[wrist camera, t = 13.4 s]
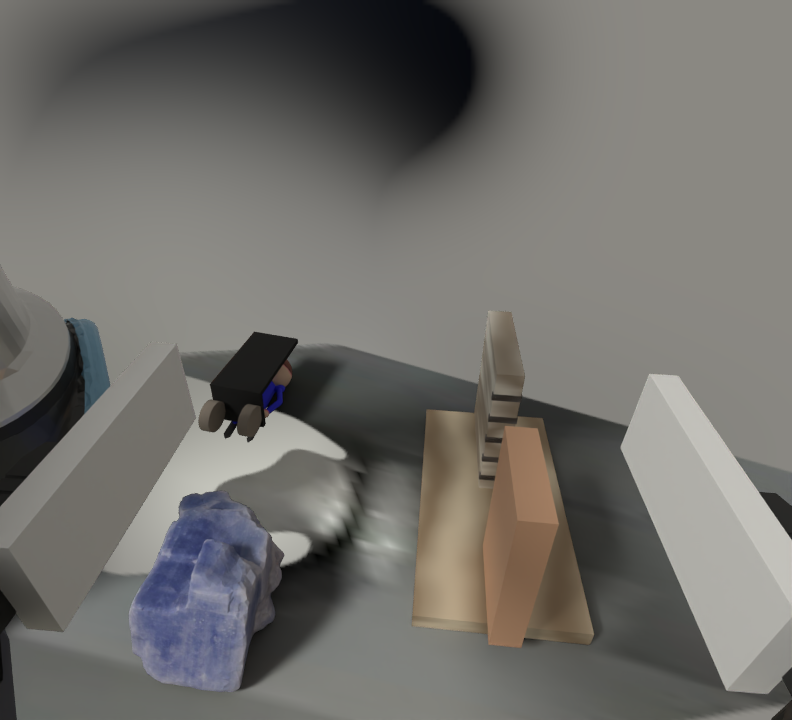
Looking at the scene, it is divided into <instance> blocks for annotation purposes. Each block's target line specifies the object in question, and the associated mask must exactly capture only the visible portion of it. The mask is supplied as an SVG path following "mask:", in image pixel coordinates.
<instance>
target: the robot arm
mask: <svg viewBox="0 0 792 720" xmlns="http://www.w3.org/2000/svg"><path fill="white" fill-rule="evenodd" d="M195 419H196V416H195V412H194V409H193V405H192V401H191V397H190V393H189V389H188V385H187V381H186V377H185V373H184V370H183V366H182V362H181V358H180V354H179V350H178V346H177V344H174V343H158V342H150V343H149V344H148V345H147V346H146V348H145V349H144V350H143V351H142V352H141V353H140V354H139V355H138V356H137V357H136V358H135V359H134V361H133V362H132V363H131V364H130V365H129V366H128V367H127V368H126V369H125V370H124V371H123V373H122V374H121V375H120V376H119V377H118V378H117V379H116V380H115V381H114V383H113V384H112V385H111V386H110V381H109V376H108V372H107V367H106V363H105V358H104V353H103V348H102V344H101V340H100V336H99V332H98V328H97V326H96V325H95V323H94V322H92V321H90V320H87V319H81V320H76V319H74V318H71V319H64V320H63V319H62V317H61V316H60V314H59V313H58V311H57V310H56V309H55V308H54V307H53V306H52V305H51V304H50V303H49V302H47V301H46V300H44V299H42V298H41V297H39V296H37V295H35V294H33V293H31V292H29V291H26V290H23V289H21V288H17V287H13V286H12V284H11V283H10V281H9V279H8V278H7V276H6V274H5V273H4V271H3V269H2V267H1V265H0V720H17V718H16V707H15V697H14V686H13V675H12V664H11V653H10V643H9V638H8V636H7V633H6V631H5V630H4V629H5V627H6V626H7V625H8V623H9V622H10V621H11V619H12V618H13V616H14V615H15V614H17V616H18V617H19V618H20V620H21V621H22V622H23V624H24V625H25V626H26V628H27V629H35V630H46V631H57V632H64V631H65V629H66V628H67V626H68V624H69V623H70V621H71V620H72V618H73V616H74V615H75V613H76V611H77V610H78V608H79V607H80V605H81V603H82V602H83V600H84V599H85V597H86V595H87V594H88V592H89V590H90V589H91V587H92V586H93V584H94V582H95V581H96V579H97V577H98V576H99V574H100V573H101V571H102V569H103V568H104V566H105V564H106V563H107V561H108V559H109V558H110V556H111V555H112V553H113V552H114V550H115V548H116V547H117V545H118V543H119V542H120V540H121V539H122V537H123V535H124V534H125V532H126V530H127V529H128V527H129V526H130V524H131V522H132V521H133V519H134V518H135V516H136V514H137V513H138V511H139V509H140V508H141V506H142V505H143V503H144V501H145V500H146V498H147V496H148V495H149V493H150V492H151V490H152V488H153V487H154V485H155V484H156V482H157V480H158V479H159V477H160V475H161V474H162V472H163V471H164V469H165V467H166V466H167V464H168V462H169V461H170V459H171V458H172V456H173V454H174V453H175V451H176V450H177V448H178V446H179V445H180V443H181V441H182V440H183V438H184V436H185V435H186V433H187V432H188V430H189V428H190V427H191V425H192V424H193V422H194V420H195ZM620 448H621V450H622V452H623V455H624V457H625V459H626V462H627V464H628V466H629V468H630V471H631V473H632V475H633V478H634V480H635V482H636V484H637V487H638V489H639V491H640V494H641V496H642V498H643V501H644V503H645V505H646V507H647V510H648V512H649V514H650V517H651V519H652V521H653V523H654V526H655V528H656V530H657V533H658V535H659V537H660V539H661V542H662V544H663V546H664V549H665V551H666V553H667V556H668V558H669V560H670V562H671V565H672V567H673V569H674V572H675V574H676V576H677V578H678V581H679V583H680V585H681V588H682V590H683V592H684V594H685V597H686V599H687V601H688V604H689V606H690V608H691V611H692V613H693V615H694V617H695V620H696V622H697V624H698V627H699V629H700V631H701V633H702V636H703V638H704V640H705V643H706V645H707V647H708V649H709V652H710V654H711V656H712V659H713V661H714V663H715V665H716V668H717V670H718V672H719V675H720V677H721V679H722V682H723V684H724V686H725V688H726V691H736V692H748V693H759V694H768V693H769V692H770V691H771V690H772V689H773V688H774V687H775V686H776V685H777V684H778V683H779V682H780V681H781V680H782V679H783V681H784V683H785V684H786V686H787V688H788V690H789V692H790V694H791V696H792V506H791V505H790V504H788V503H787V502H786V501H785V500H784V499H782V498H781V497H780V496H779V495H777V494H776V493H765V492H758V491H757V489H756V488H755V486H754V485H753V483H752V482H751V480H750V479H749V478H748V476H747V475H746V473H745V472H744V470H743V469H742V467H741V466H740V465H739V463H738V462H737V460H736V459H735V457H734V456H733V454H732V453H731V452H730V450H729V449H728V448H727V446H726V444H725V443H724V442H723V440H722V439H721V437H720V436H719V434H718V433H717V431H716V430H715V428H714V427H713V426H712V424H711V423H710V421H709V420H708V418H707V417H706V415H705V414H704V413H703V411H702V410H701V408H700V407H699V405H698V404H697V402H696V401H695V400H694V398H693V397H692V395H691V394H690V392H689V391H688V389H687V388H686V387H685V385H684V384H683V382H682V381H681V379H680V378H679V377H678V376H676V375H660V374H649V376H648V378H647V381H646V384H645V386H644V389H643V391H642V394H641V396H640V399H639V402H638V404H637V407H636V409H635V412H634V414H633V417H632V420H631V422H630V424H629V427H628V430H627V432H626V435H625V437H624V440H623V442H622V445H621V447H620ZM771 720H792V700H791V701H790V702H789V703H788V704H787V705H786V706H785V707H784V708H783V709H782V710H780V711H779V712H778V713H777V714H776V715H775V716H774V717H773V718H772V719H771Z"/></svg>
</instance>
